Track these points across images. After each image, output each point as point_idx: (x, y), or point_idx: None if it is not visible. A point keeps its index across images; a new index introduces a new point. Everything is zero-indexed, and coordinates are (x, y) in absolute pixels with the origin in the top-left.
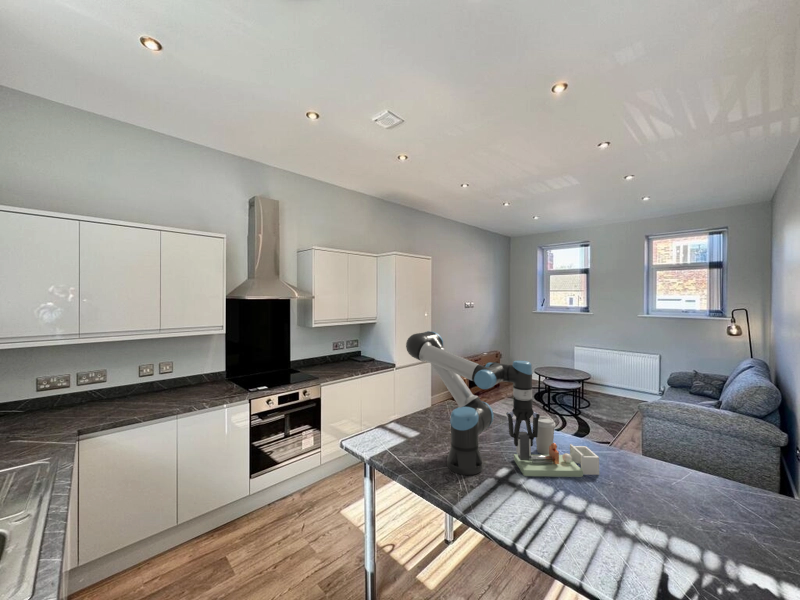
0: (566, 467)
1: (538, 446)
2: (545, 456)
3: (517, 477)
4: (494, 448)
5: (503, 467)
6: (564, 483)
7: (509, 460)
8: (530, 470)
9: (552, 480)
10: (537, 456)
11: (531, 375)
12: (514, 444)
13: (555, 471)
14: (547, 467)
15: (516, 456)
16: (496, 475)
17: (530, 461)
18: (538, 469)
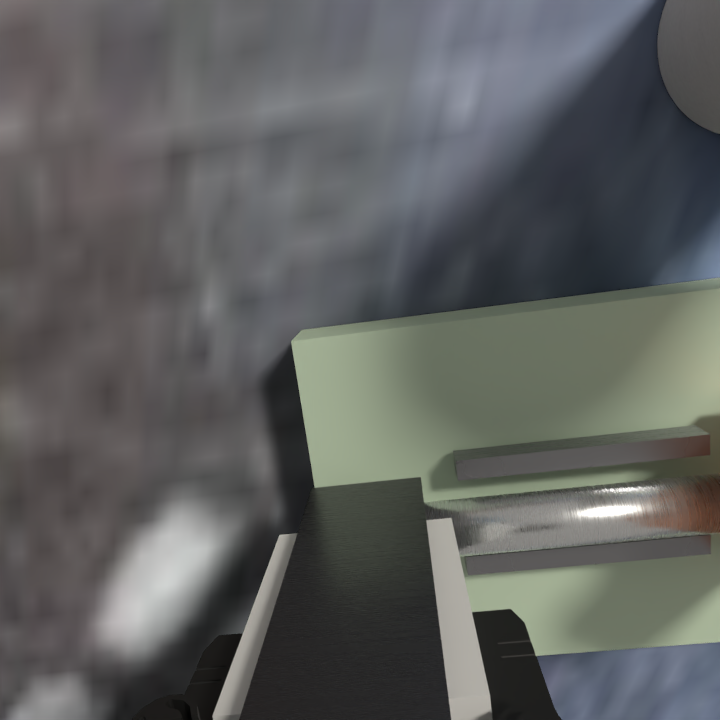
0: None
1: (703, 63)
2: (665, 531)
3: None
4: (90, 57)
5: (173, 504)
6: (680, 697)
7: (249, 353)
8: None
9: (589, 665)
10: (554, 543)
11: None
12: (214, 657)
13: (669, 639)
14: (610, 596)
15: (313, 396)
16: (103, 642)
17: (456, 492)
18: None
